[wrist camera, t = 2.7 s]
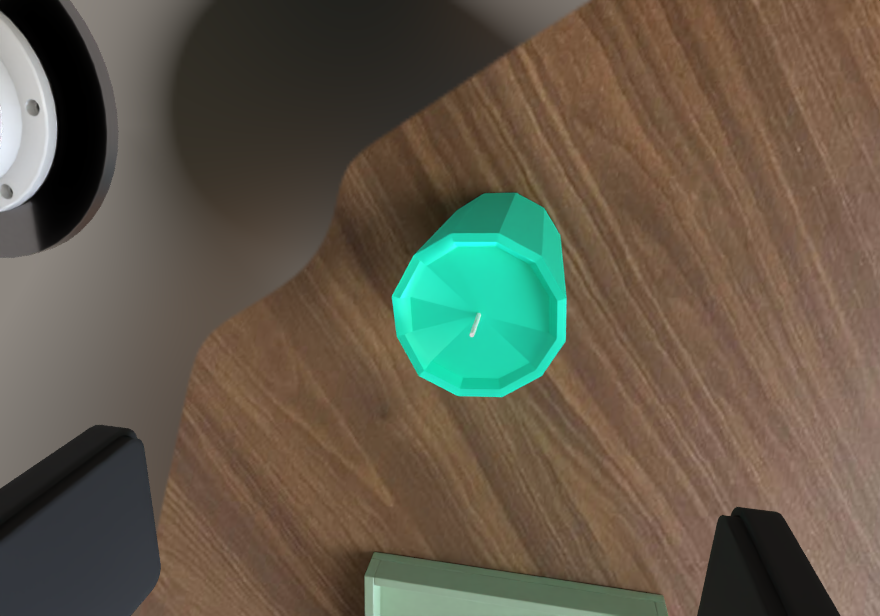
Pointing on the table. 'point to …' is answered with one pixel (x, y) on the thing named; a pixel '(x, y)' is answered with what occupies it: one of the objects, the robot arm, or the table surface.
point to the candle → (485, 298)
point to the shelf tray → (489, 592)
